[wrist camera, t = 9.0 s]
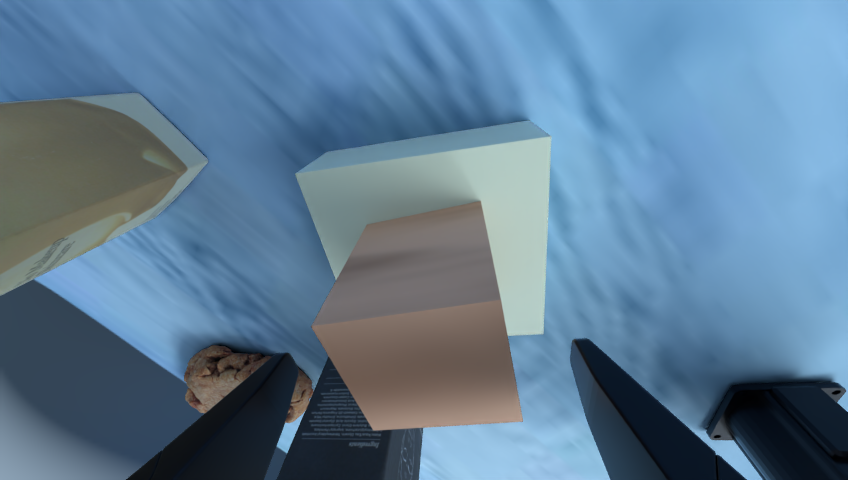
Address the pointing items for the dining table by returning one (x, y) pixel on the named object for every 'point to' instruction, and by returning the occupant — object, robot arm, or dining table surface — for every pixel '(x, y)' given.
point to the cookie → (233, 379)
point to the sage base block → (446, 200)
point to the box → (347, 440)
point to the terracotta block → (422, 324)
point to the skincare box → (83, 176)
